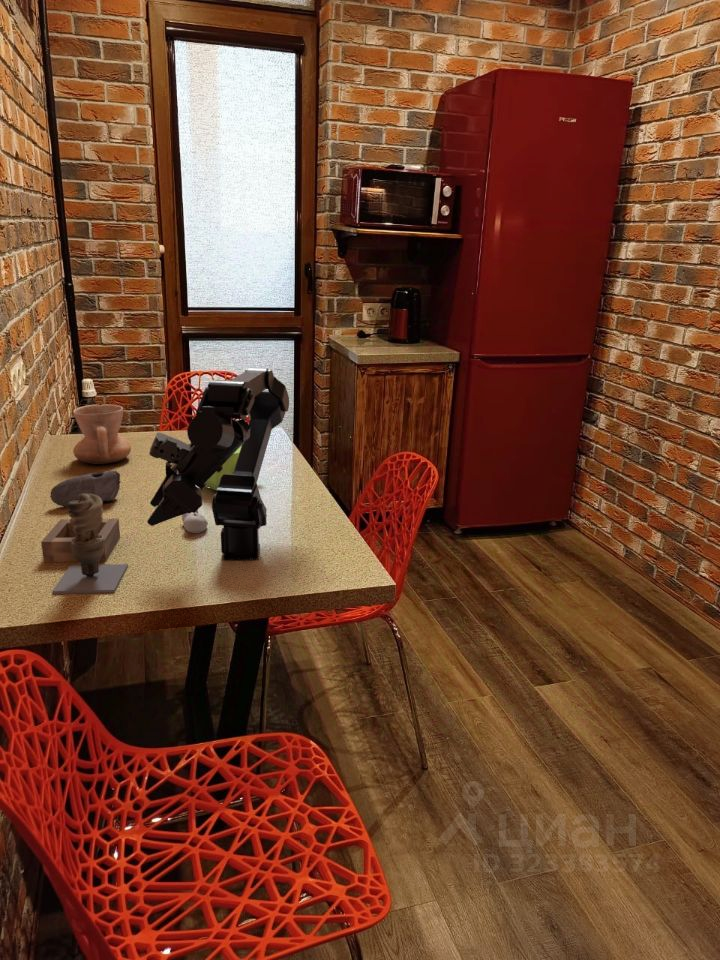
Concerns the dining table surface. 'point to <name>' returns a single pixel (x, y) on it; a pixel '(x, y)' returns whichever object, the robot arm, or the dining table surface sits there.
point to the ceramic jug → (100, 434)
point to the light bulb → (87, 532)
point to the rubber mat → (91, 580)
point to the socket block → (61, 535)
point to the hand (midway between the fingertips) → (150, 514)
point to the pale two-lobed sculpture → (194, 522)
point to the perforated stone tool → (87, 487)
